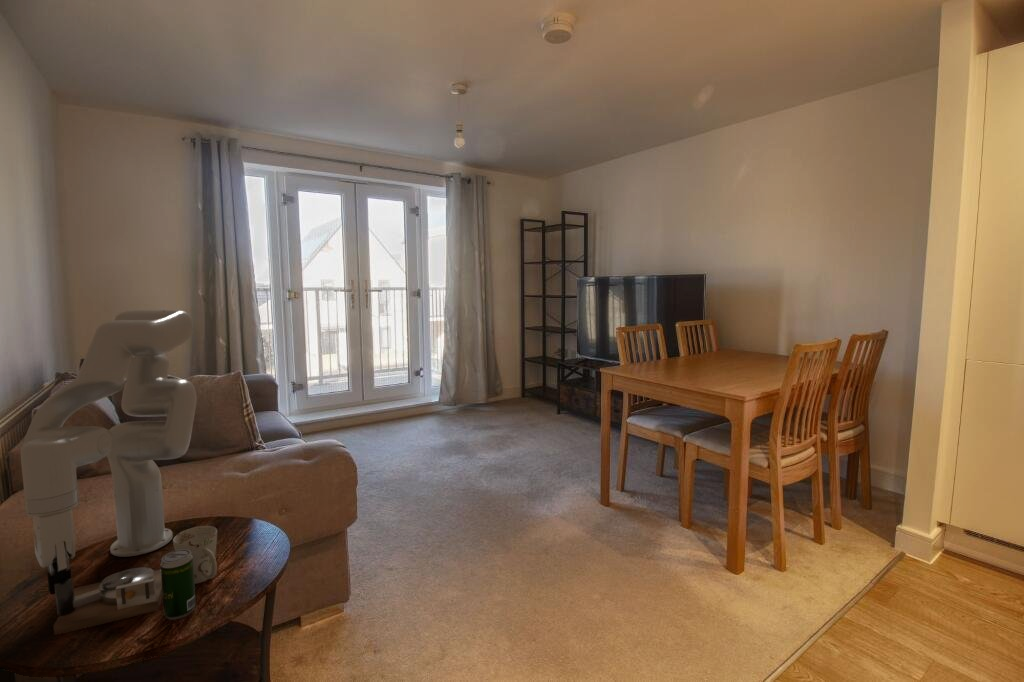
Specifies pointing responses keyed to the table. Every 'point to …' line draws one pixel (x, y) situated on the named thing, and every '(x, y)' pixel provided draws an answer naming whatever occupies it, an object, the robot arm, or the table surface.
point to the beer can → (178, 584)
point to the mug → (200, 550)
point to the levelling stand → (129, 604)
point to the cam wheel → (104, 593)
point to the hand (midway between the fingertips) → (60, 589)
